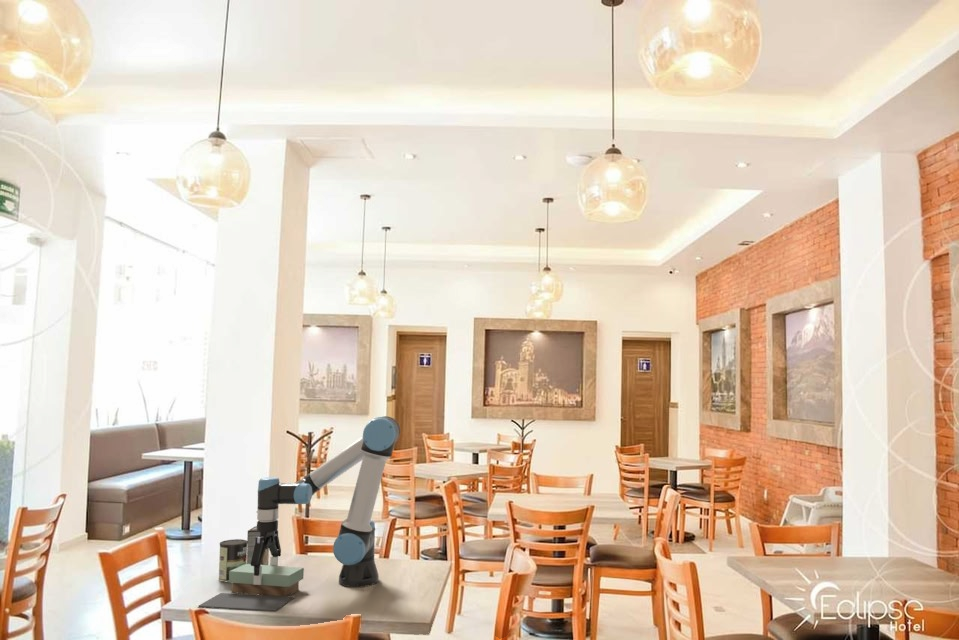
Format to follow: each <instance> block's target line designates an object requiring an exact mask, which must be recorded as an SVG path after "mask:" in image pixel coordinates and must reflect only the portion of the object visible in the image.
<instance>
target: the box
mask: <svg viewBox="0 0 959 640" xmlns="http://www.w3.org/2000/svg"><path fill="white" fill-rule="evenodd" d="M299 584H300V581H299V582H297V583H295V584H293V585H291V586H290V587H282V586H269V585H253V584H243V583H231V593H233V592H238V593H237V594H245V593H248V594H253V595H257V594H259V595H272V596H288V595H289V596H291V595H292V594H294V593H296V592H298V591H299V587H300V586H299ZM295 591H296V592H295Z"/></svg>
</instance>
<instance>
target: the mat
mask: <svg viewBox="0 0 959 640" xmlns="http://www.w3.org/2000/svg"><path fill="white" fill-rule="evenodd" d="M293 599H295V596H291V595H289V596H272V595H257V594H245V593H233V592H231V593H230V592H229V593H228V592H227V593H226V592H219V593H218V594H216V595H215V596H214V597H211V598H209V599H207V600H206V601H204V602H202V603H201V604H199V605H198V606H199V607H198V608H202V609H204V607H206V608H207V609H209V608H208V607H214V608H213V609H219V608H229V609H228V610H239V611H240V610H241V611H259V612H260V611H261V612H274V613H275V612H277V611H278V610H281V608H283V607H284V606H286V605H287V604H288V603H290V602H291V601H293ZM206 608H205V609H206Z"/></svg>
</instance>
